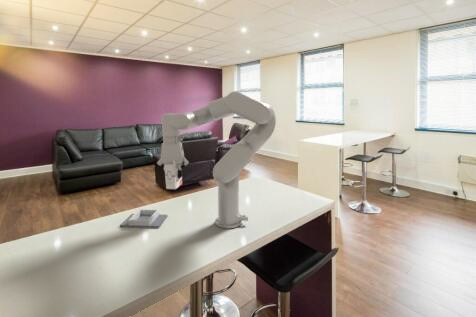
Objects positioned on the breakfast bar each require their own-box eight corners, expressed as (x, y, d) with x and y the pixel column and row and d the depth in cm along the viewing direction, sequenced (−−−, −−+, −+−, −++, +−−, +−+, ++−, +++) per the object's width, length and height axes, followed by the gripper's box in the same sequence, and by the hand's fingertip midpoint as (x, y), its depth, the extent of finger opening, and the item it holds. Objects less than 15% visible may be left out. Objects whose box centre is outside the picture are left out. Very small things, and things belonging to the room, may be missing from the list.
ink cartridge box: (173, 183, 136) (171, 154, 133) (182, 184, 135) (180, 155, 132) (165, 189, 128) (163, 158, 125) (175, 189, 127) (173, 158, 124)
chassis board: (167, 216, 136) (167, 209, 136) (158, 228, 124) (158, 220, 123) (132, 215, 137) (131, 209, 136) (119, 227, 124) (119, 219, 124)
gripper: (191, 139, 130) (193, 175, 134) (156, 139, 131) (158, 175, 135) (187, 141, 123) (189, 180, 126) (150, 141, 124) (153, 180, 127)
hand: (173, 177), depth 130 cm, fingers closed on ink cartridge box, 5 cm apart
